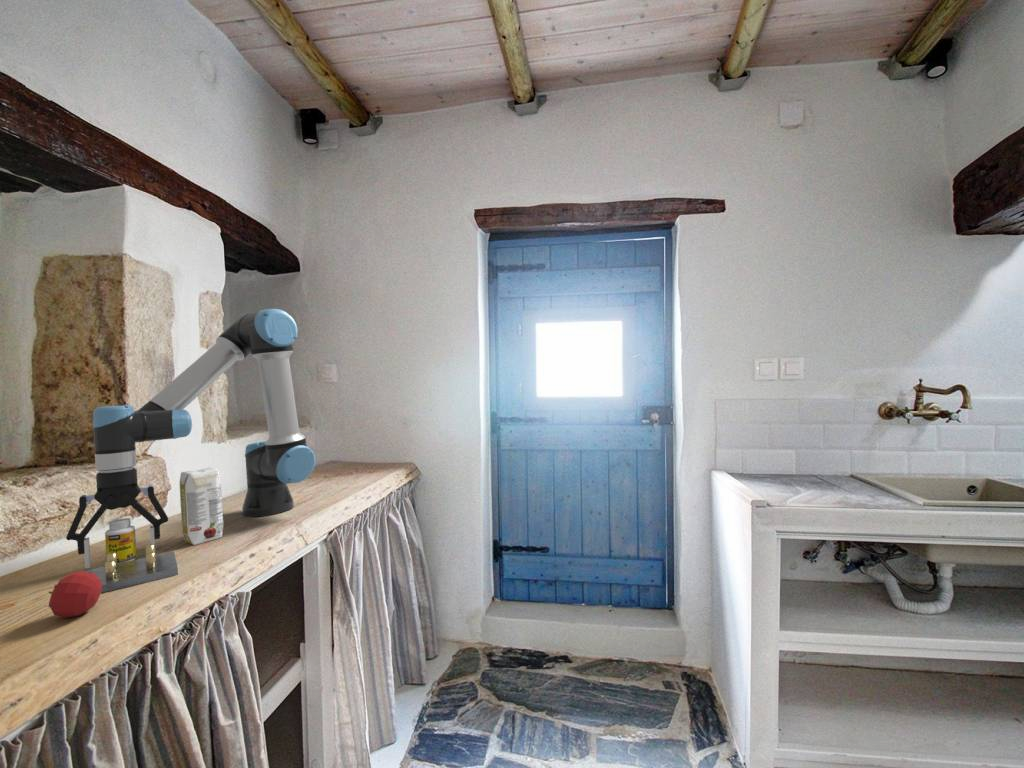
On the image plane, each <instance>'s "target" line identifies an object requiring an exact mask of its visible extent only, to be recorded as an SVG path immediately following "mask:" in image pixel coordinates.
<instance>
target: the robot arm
mask: <svg viewBox="0 0 1024 768" xmlns="http://www.w3.org/2000/svg"><path fill="white" fill-rule="evenodd" d="M298 332H299V331H298V326H297V323H296V320H294V318H293V317H292V316H291V315H290V314H289V313H288V312H286V311H284V310H282V309H278V308H267V309H266V308H265V309H261V310H259V311H257V312H256V311H255V312H250V313H246V314H244V315H242V316H241V317H239V318H238V319H237V320H235V321H234V322H233V323H231V325H229V327H228V328H226V329H225V331H223V332H222V333H221V334H220V335H218V336H217V337H216V339H215V344H214V345H212V346H211V347H210V348H209V349H207V351H206V352H204V353H203V354H202V355H201V356H199V357H198V358H197V359H196V360H195V361H194V362H193V363H191V364H190V365H189V366H188V367H187V368H186V369H184V371H182V372H181V373H180V374H179V375H177V376H176V377H175V378H174V379H172V381H171V382H169V383H168V384H167V385H166V386H165V387H164V388H162V389H161V390H160V391H159V392H158V393H156V395H154V396H153V397H152V398H151V399H150V400H148V402H146V403H145V404H144V405H143V406H141V407H140V408H139V409H138V410H134V407H133V406H132V405H131V404H130V405H129V404H126V405H124V404H123V405H107V406H106V405H105V406H98V407H96V408H94V410H93V413H92V414H93V415H92V428H93V441H94V464H95V470H96V471H98V472H97V473H96V474H95V478H96V479H95V480H96V492H95V494H89V495H86V494H82V495H80V496H79V498H78V503H79V505H78V509H77V512H76V513H75V516H74V518H73V520H72V522H71V525H70V528H69V530H68V532H67V534H66V537H65V539H66V540H67V541H76V542H77V543H76V544H77V553H78V555H80V556H81V555H84V566H85V568H84V569H87V570H88V569H90V568H91V566H92V565H91V564H92V562H91V545H90V544H91V543H90V542H91V541H90V537H87V535H88V534H89V533H90V531H91V530H92V529H93V527H94V526H95V525H96V524H97V522H98V521H99V519H100V518H101V517H102V515H103V514H104V513H105V512H106V510H110V511H113V510H117V509H125V508H128V507H129V506H131V507H132V509H134V510H136V511H137V513H139V514H140V515H141V516H142V517H143V518H144V519H146V520H147V521H148V523H150V524H151V525H149V533H150V545H152V544H153V545H154V552H155V553H156V542H155V540H159V539H160V538H161V525H163V524H165V523H168V521H169V517H168V515H167V513H166V511H165V510H164V508H163V507H162V505H161V503H160V501H159V500H158V498H157V495H155V489H154V486H153V485H148V486H145V487H139V485H138V469H137V468H136V466H137V453H136V443H143V442H144V443H145V442H152V441H153V442H154V441H163V440H172V439H173V440H176V439H179V438H180V439H181V438H185V437H187V436H189V435H190V433H191V432H192V427H193V424H192V420H193V419H192V417H191V415H190V412H189V411H187V410H186V409H185V408H186V407H188V405H190V404H191V403H192V402H193V401H194V400H196V399H197V398H198V396H200V395H201V394H202V393H203V392H204V391H205V390H206V389H207V388H209V387H210V386H211V385H212V384H213V383H214V382H215V381H216V380H218V378H219V377H221V376H222V375H223V373H224V374H225V372H226V371H227V370H228V369H229V368H230V367H232V366H233V365H234V364H235V363H236V362H237V361H243V360H244V359H246V358H247V357H248V356H249V355H250V354H251V356H252V357H253V358H254V359H256V360H257V362H258V367H259V374H260V382H261V383H260V384H261V390H262V396H263V403H264V408H265V416H266V423H267V429H268V436H269V437H268V438H267V440H264V441H257V442H252V443H248V444H247V445H246V446H245V453H244V457H245V469H246V484H247V487H246V489H247V490H246V494H245V497H244V501H243V503H242V509H241V511H242V515H243V516H245V517H263V516H271V515H276V514H281V513H284V512H286V511H289V510H291V509H293V508H294V507H295V505H294V498H293V495H292V493H291V491H290V488H289V486H288V484H297V483H301V482H303V481H305V480H306V479H307V478H308V477H310V476H311V474H312V472H313V471H314V469H315V467H316V463H317V462H316V455H315V452H314V451H313V450H312V449H311V448H310V447H308V446H307V439H306V436H305V435H304V434H302V433H301V432H300V428H299V421H298V412H297V406H296V398H295V391H294V384H293V376H292V370H291V363H290V357H291V356H292V354H293V353H294V346H293V343H294V342H295V340H296V339H297V337H298ZM140 493H142V494H143V496H146V497H147V496H148V499H149V501H150V503H151V504H152V506H153V508H154V509H155V511H156V512H157V514H158V516H159V518H156V517H155V515H154V514H152V513H151V512H150V511H149V510H148V509H146V508H145V507H144V506H143V505H142V504H141V503H140V502H139V500H137V498H138V496H139V495H140ZM94 500H95V501H96V502H98V503H99V505H100V506H99V507H98V508H97V510H96V511H95V513H94V514H93V516H91V518H90V519H89V521H88V522H87V523H86V525H85V526H84V527H83V529H82V530H81V531H80V533H76V532H77V530H78V528H79V526H80V522H81V520H82V519H83V516H84V514H85V511H86V509H87V506H88V505H91V503H92V501H94Z"/></svg>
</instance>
